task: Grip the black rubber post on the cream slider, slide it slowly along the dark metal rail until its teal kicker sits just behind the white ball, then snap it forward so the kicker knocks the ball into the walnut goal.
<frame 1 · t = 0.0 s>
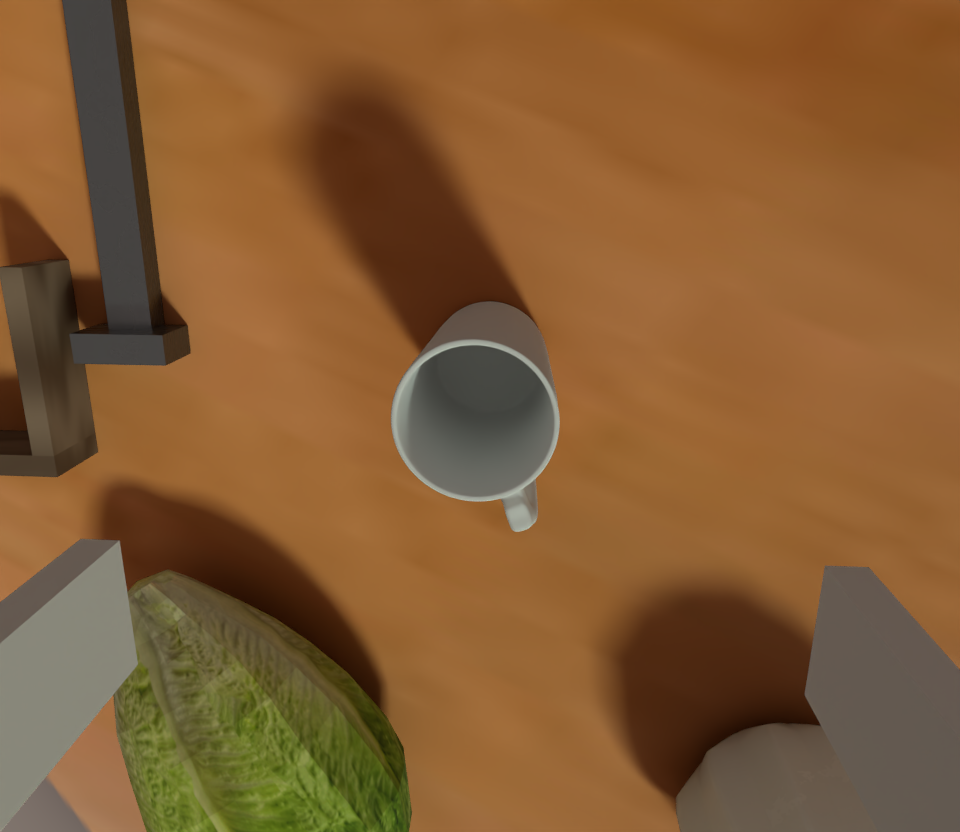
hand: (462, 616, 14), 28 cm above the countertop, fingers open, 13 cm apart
vase: (772, 778, 48), on the countertop
lettuce: (280, 676, 49), on the countertop
mug: (500, 383, 42), on the countertop
rail: (106, 27, 37), on the countertop
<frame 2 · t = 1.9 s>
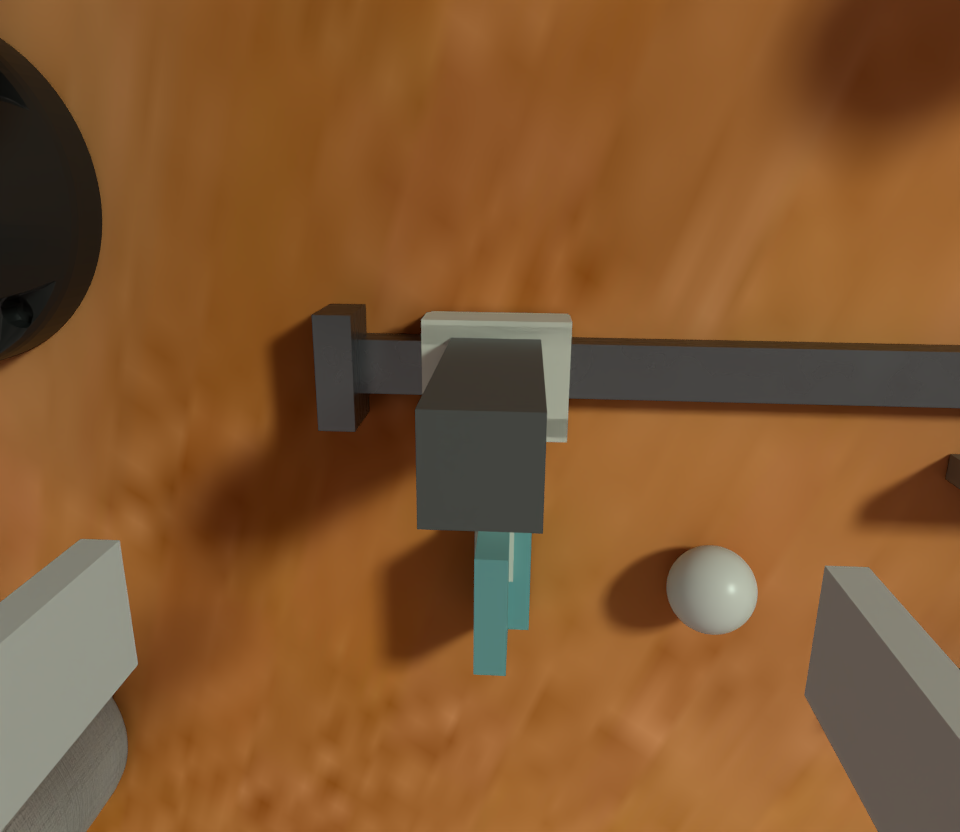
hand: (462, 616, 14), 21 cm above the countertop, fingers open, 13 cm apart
ball: (711, 589, 34), point 2 cm above the countertop
carriage: (489, 533, 29), point 7 cm above the countertop, slide at 0.0 cm
rail: (700, 366, 33), on the countertop
planter: (27, 717, 42), on the countertop
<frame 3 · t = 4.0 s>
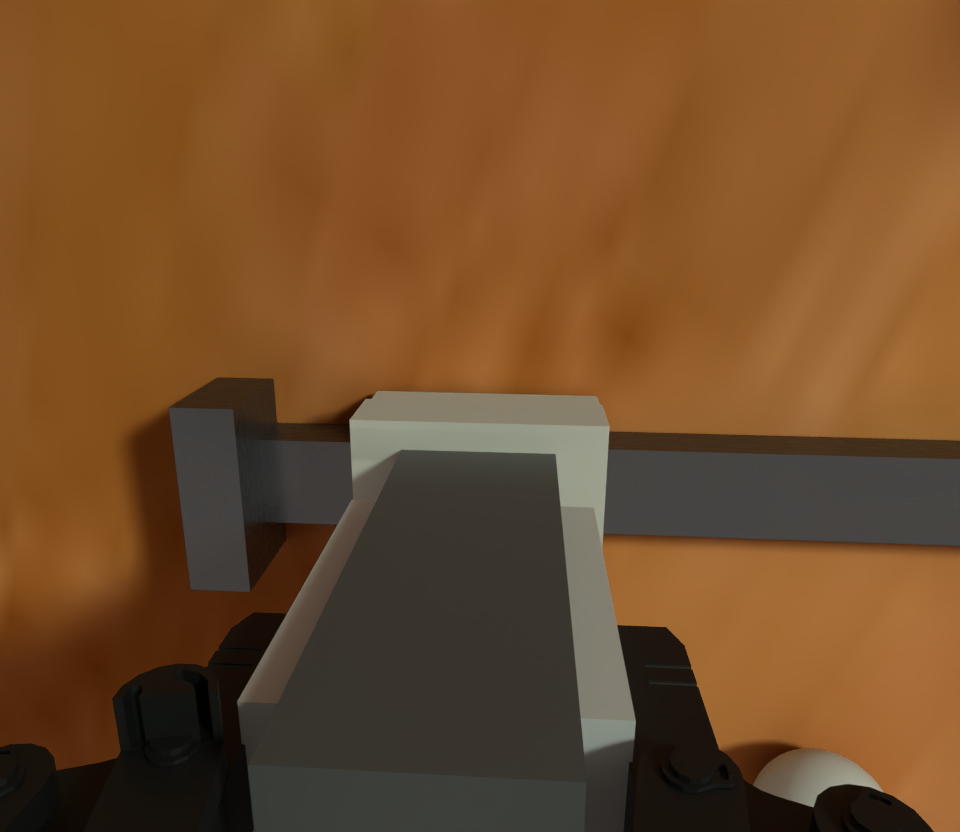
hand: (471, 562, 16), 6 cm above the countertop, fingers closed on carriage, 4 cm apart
ball: (820, 823, 22), point 2 cm above the countertop
carriage: (465, 804, 16), point 7 cm above the countertop, slide at 0.0 cm, touching gripper
rail: (808, 477, 21), on the countertop
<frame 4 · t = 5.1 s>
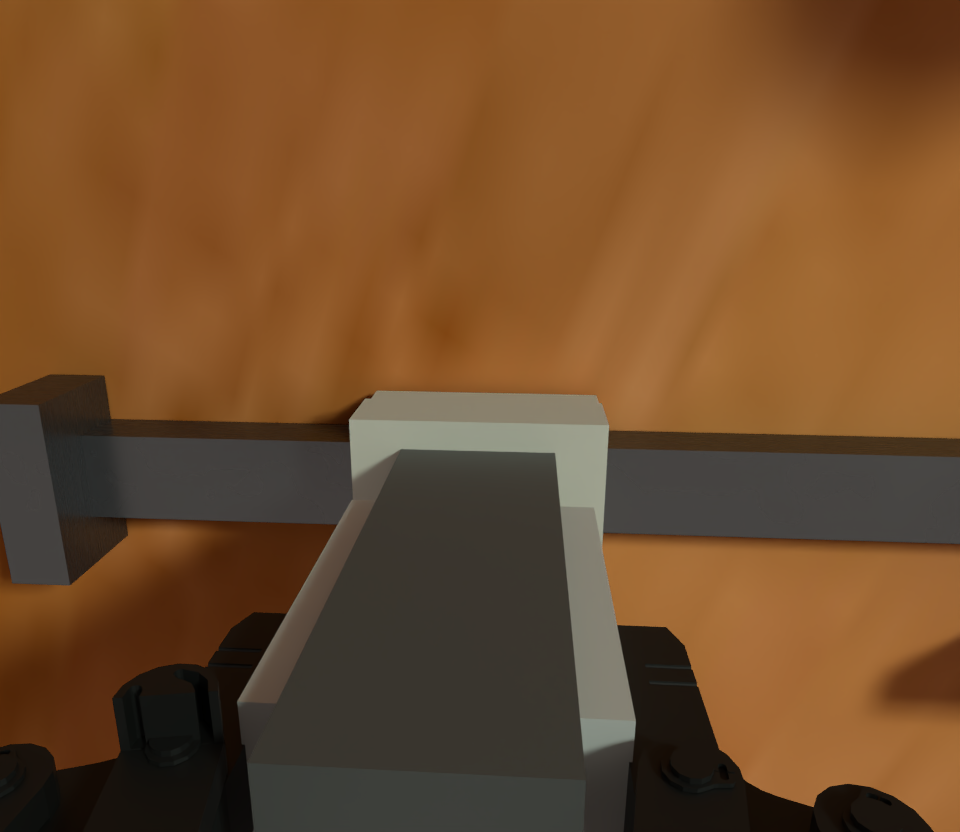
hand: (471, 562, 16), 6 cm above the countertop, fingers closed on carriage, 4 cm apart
carriage: (466, 803, 16), point 7 cm above the countertop, slide at 4.9 cm, touching gripper
rail: (630, 471, 21), on the countertop
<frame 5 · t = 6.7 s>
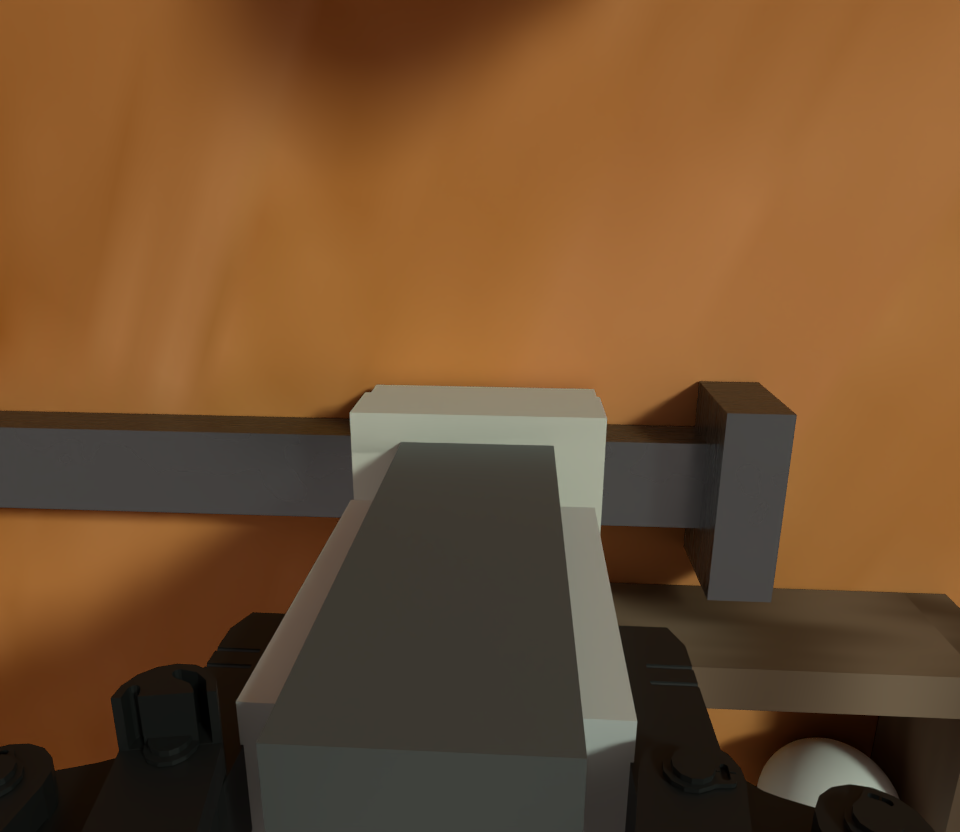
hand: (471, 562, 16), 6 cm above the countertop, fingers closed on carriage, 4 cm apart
ball: (827, 811, 22), point 2 cm above the countertop, tilted 167°
goal: (710, 757, 24), on the countertop
carriage: (466, 791, 16), point 7 cm above the countertop, slide at 18.1 cm, touching gripper
rail: (175, 453, 22), on the countertop
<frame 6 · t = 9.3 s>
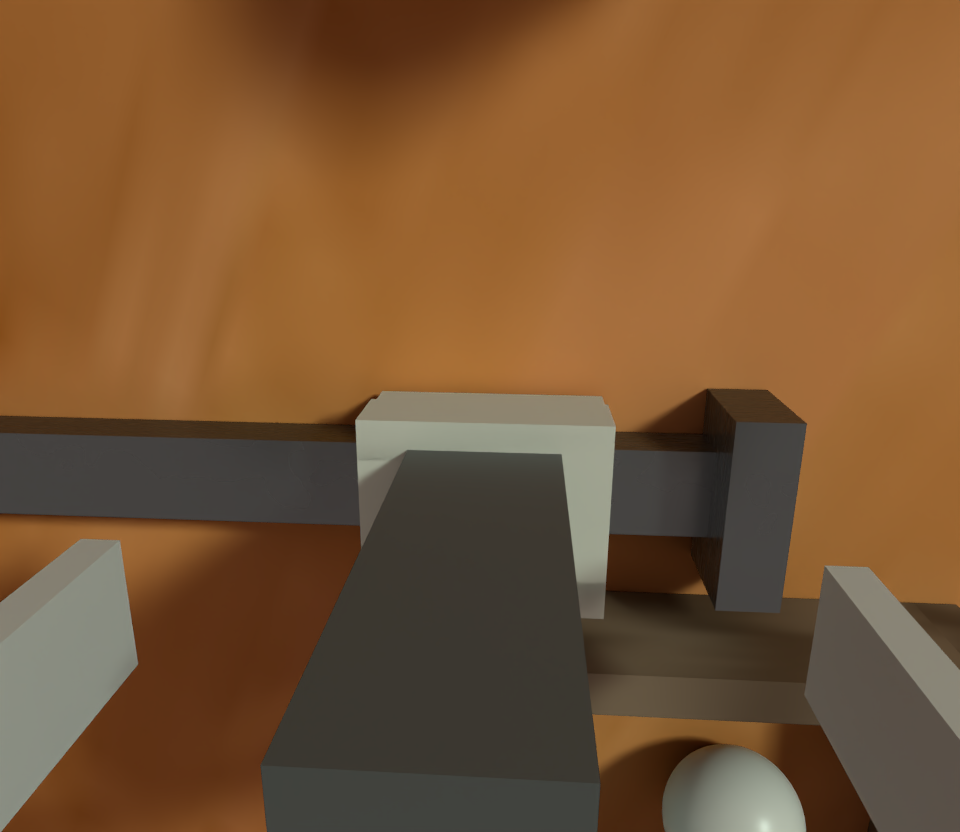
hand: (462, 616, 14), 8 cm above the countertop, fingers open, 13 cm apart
ball: (731, 818, 22), point 2 cm above the countertop, tilted 81°
goal: (717, 768, 24), on the countertop
carriage: (472, 805, 16), point 7 cm above the countertop, slide at 18.1 cm
rail: (179, 459, 22), on the countertop
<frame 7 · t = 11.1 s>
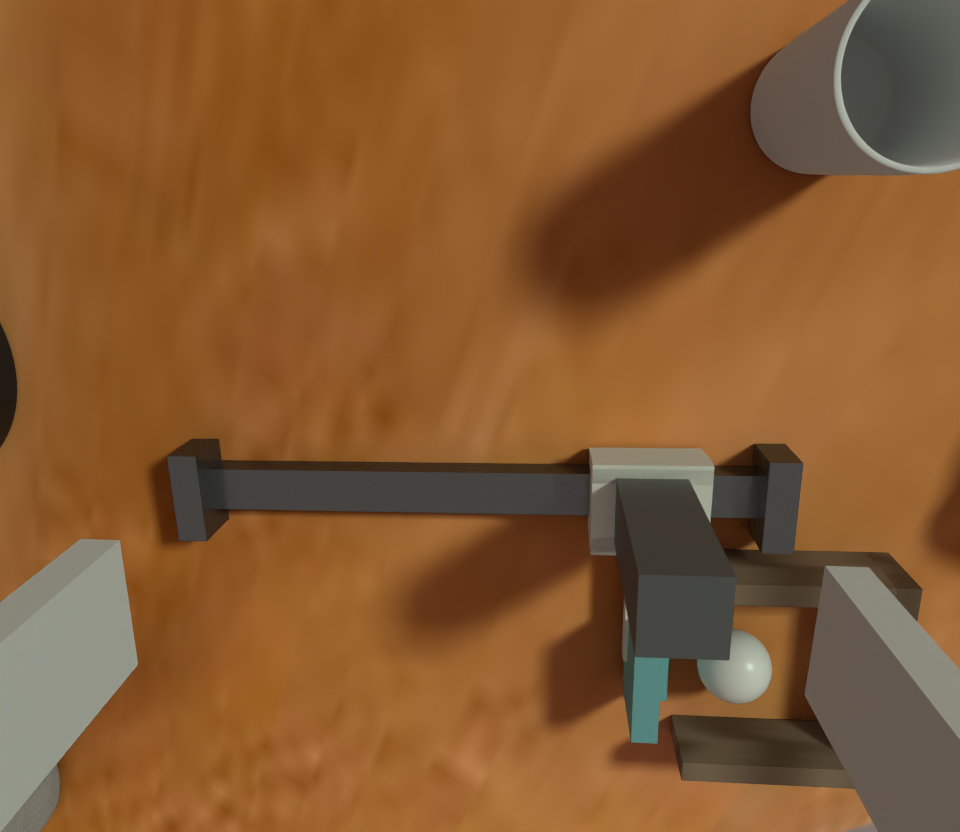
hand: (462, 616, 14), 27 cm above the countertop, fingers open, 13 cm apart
ball: (733, 665, 42), point 2 cm above the countertop, tilted 22°
goal: (763, 646, 44), on the countertop
carriage: (655, 637, 36), point 7 cm above the countertop, slide at 18.1 cm
mug: (849, 91, 35), on the countertop
rail: (478, 483, 42), on the countertop
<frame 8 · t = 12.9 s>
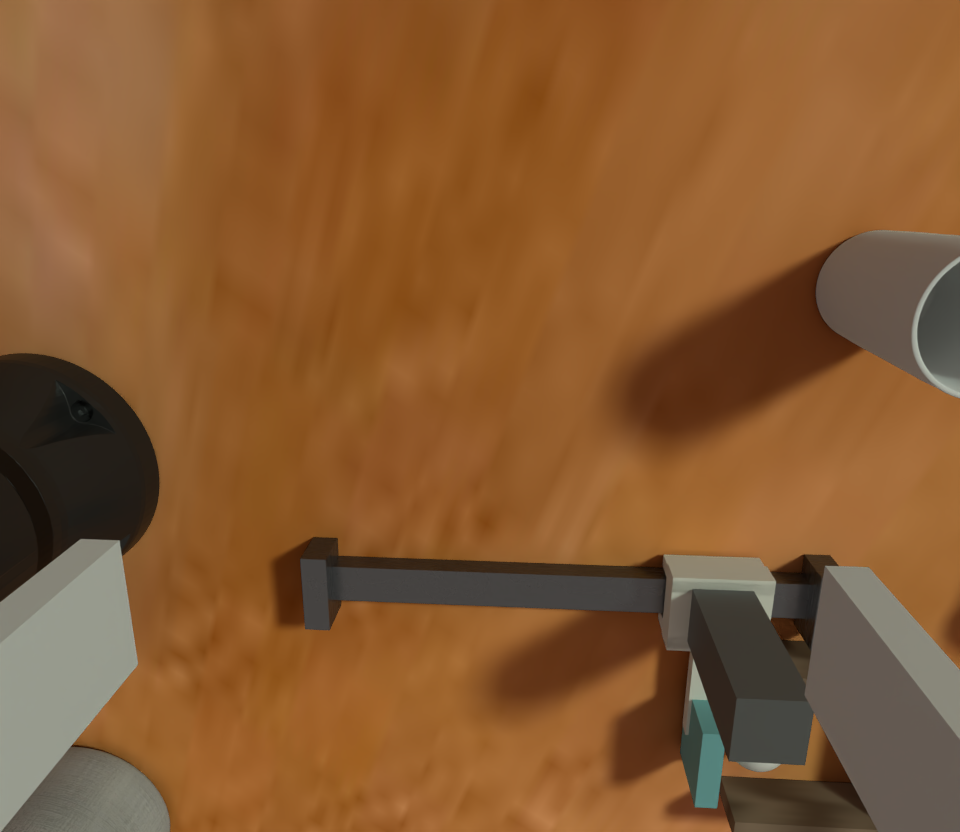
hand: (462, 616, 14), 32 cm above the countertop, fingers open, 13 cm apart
ball: (756, 738, 49), point 2 cm above the countertop, tilted 22°
goal: (802, 720, 51), on the countertop
carriage: (725, 726, 43), point 7 cm above the countertop, slide at 18.1 cm
mug: (898, 275, 42), on the countertop
rail: (565, 580, 49), on the countertop
planter: (96, 804, 58), on the countertop
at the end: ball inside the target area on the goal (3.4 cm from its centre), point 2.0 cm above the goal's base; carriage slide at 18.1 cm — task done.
